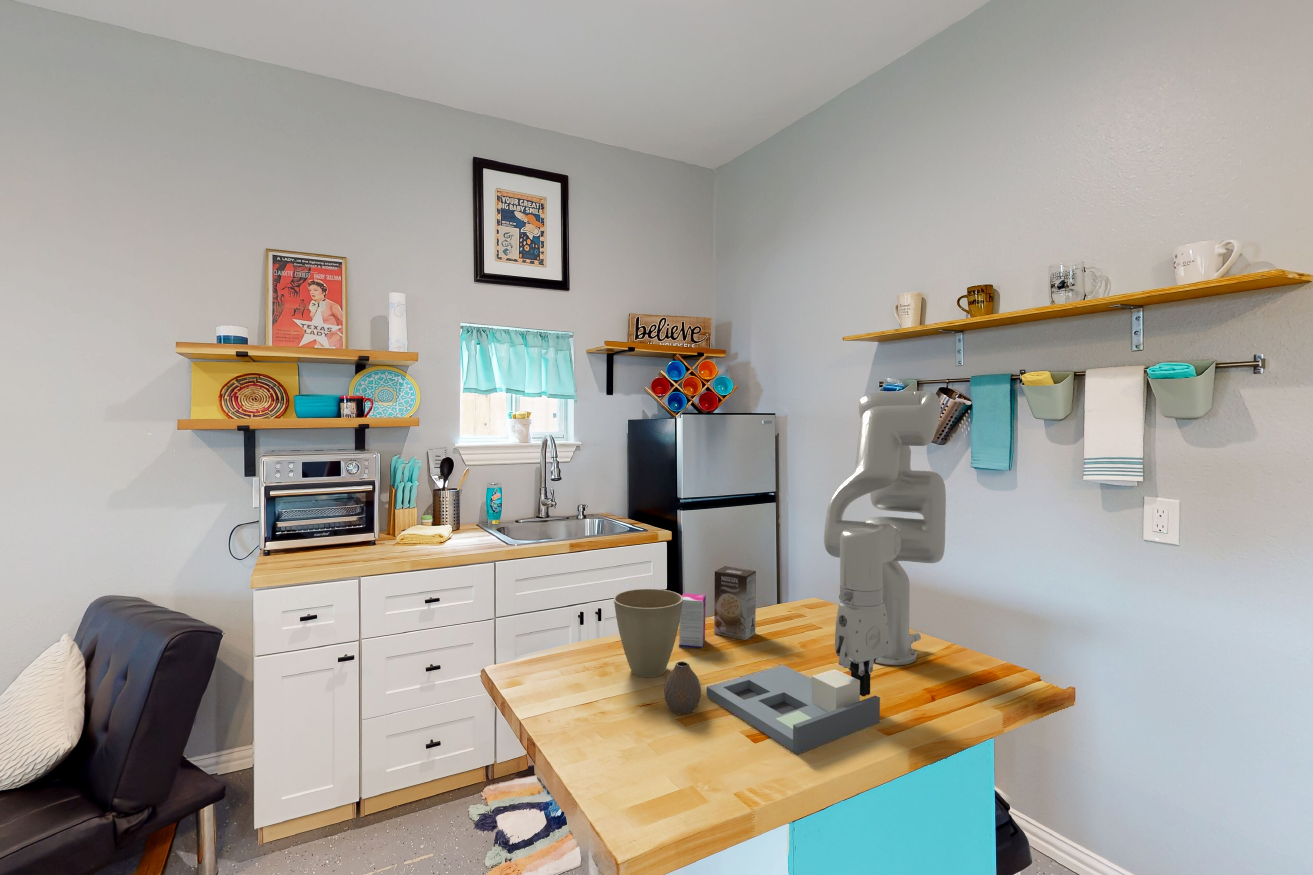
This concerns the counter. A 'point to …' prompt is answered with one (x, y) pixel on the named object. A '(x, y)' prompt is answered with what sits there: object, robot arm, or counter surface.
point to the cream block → (834, 690)
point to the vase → (682, 689)
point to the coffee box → (735, 602)
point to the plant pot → (648, 628)
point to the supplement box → (692, 621)
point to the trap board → (791, 708)
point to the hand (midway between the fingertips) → (860, 692)
